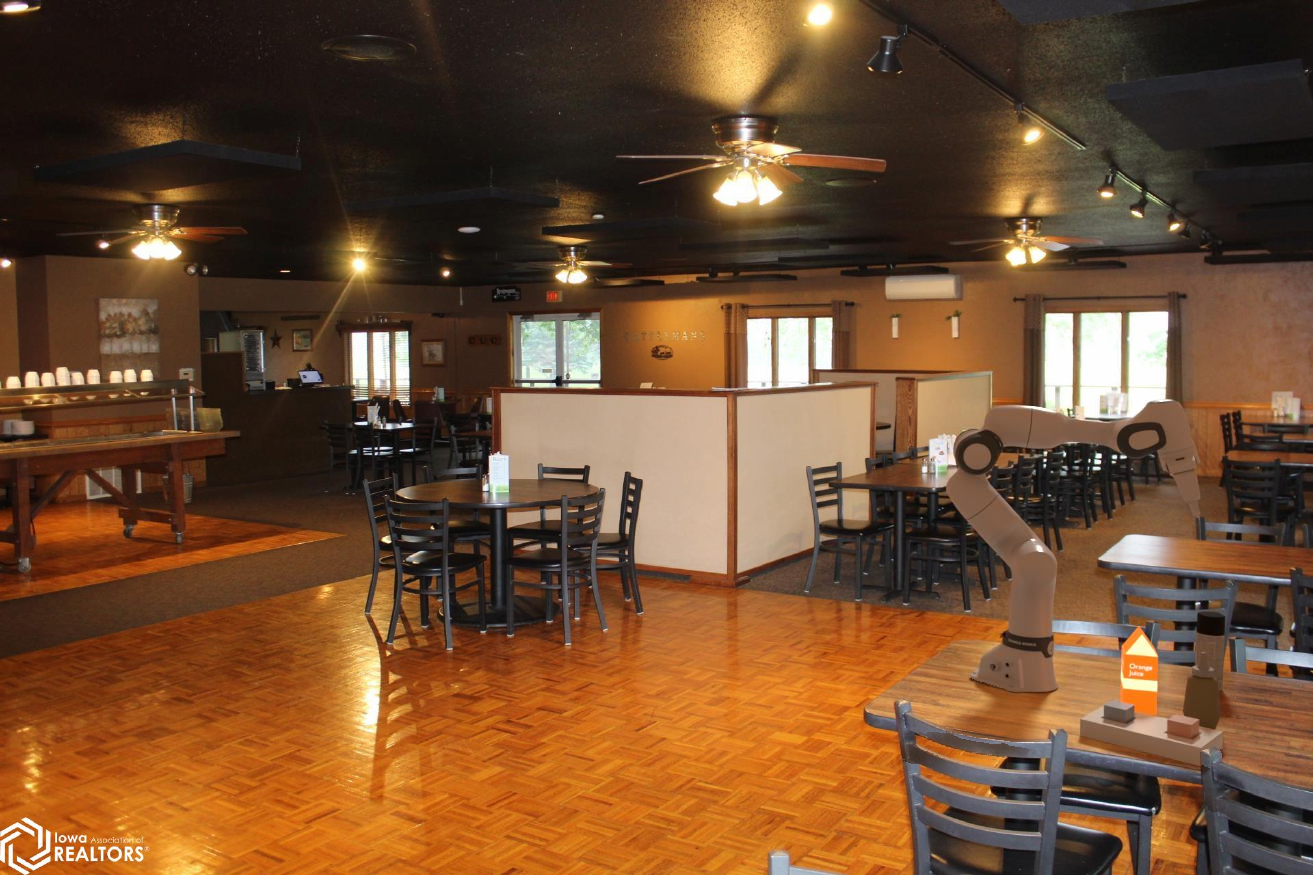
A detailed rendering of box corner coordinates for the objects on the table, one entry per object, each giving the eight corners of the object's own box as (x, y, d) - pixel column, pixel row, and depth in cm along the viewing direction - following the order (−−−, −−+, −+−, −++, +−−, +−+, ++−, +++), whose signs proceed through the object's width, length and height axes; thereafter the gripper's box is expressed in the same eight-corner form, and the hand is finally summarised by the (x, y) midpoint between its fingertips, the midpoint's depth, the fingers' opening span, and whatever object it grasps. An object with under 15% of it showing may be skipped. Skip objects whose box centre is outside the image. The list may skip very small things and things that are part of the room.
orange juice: (1122, 712, 256) (1124, 632, 255) (1119, 701, 265) (1121, 623, 263) (1157, 715, 254) (1159, 635, 252) (1153, 704, 262) (1155, 626, 261)
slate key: (1103, 721, 241) (1103, 704, 241) (1112, 716, 244) (1112, 699, 244) (1125, 727, 237) (1125, 709, 237) (1134, 721, 241) (1134, 704, 241)
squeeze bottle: (1174, 722, 249) (1177, 648, 247) (1207, 721, 249) (1209, 647, 248) (1195, 734, 241) (1197, 658, 239) (1228, 733, 241) (1230, 657, 240)
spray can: (1216, 684, 277) (1218, 610, 276) (1227, 692, 271) (1230, 617, 269) (1190, 684, 278) (1192, 610, 277) (1200, 692, 271) (1203, 616, 270)
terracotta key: (1166, 737, 231) (1167, 719, 231) (1175, 731, 234) (1175, 714, 234) (1190, 742, 227) (1191, 724, 227) (1198, 736, 231) (1199, 719, 231)
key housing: (1079, 735, 240) (1080, 718, 240) (1105, 720, 250) (1105, 704, 250) (1200, 766, 222) (1200, 747, 222) (1222, 748, 232) (1222, 731, 231)
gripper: (1163, 457, 275) (1178, 507, 275) (1168, 469, 257) (1184, 522, 257) (1189, 451, 273) (1204, 501, 273) (1196, 462, 254) (1212, 516, 254)
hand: (1195, 511), depth 265 cm, fingers open, 8 cm apart
